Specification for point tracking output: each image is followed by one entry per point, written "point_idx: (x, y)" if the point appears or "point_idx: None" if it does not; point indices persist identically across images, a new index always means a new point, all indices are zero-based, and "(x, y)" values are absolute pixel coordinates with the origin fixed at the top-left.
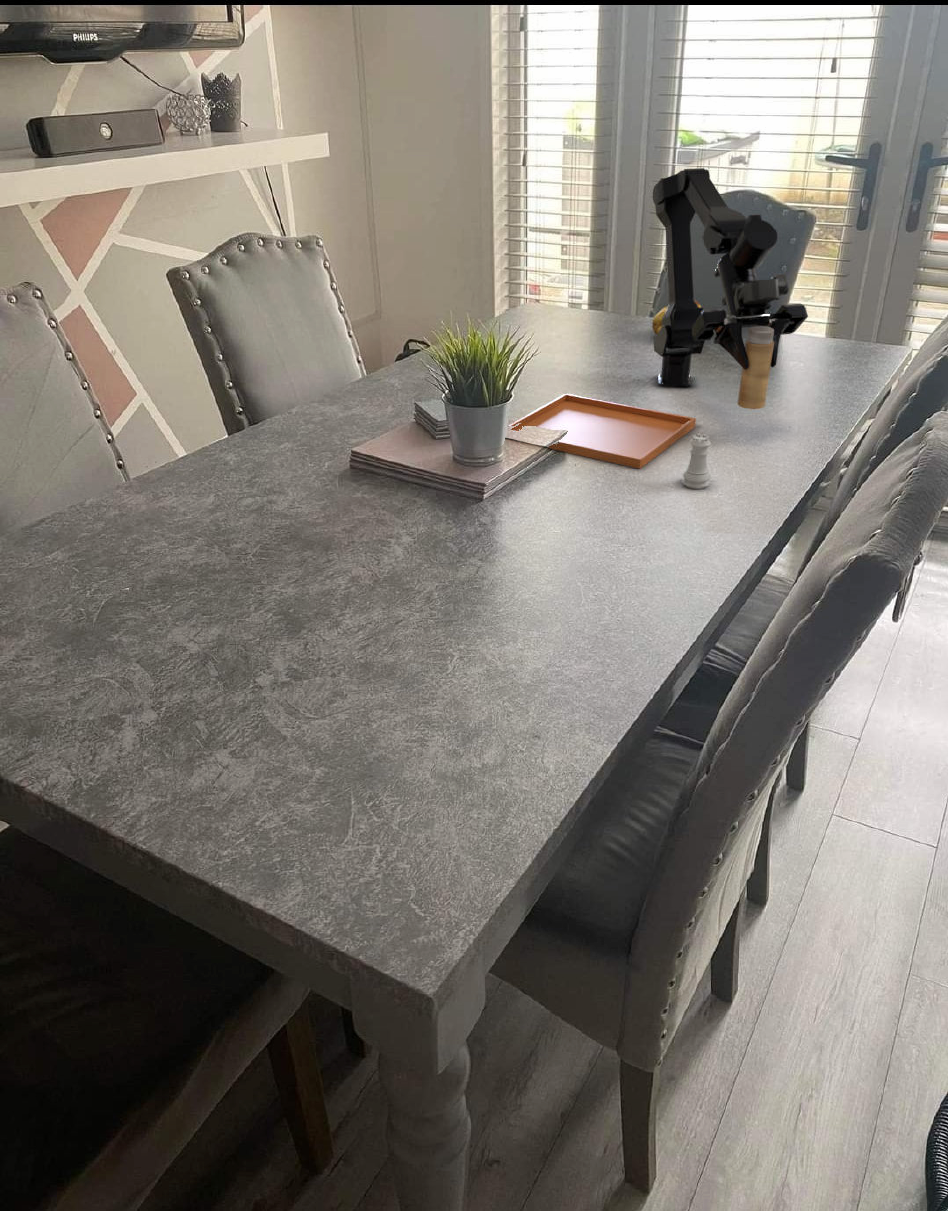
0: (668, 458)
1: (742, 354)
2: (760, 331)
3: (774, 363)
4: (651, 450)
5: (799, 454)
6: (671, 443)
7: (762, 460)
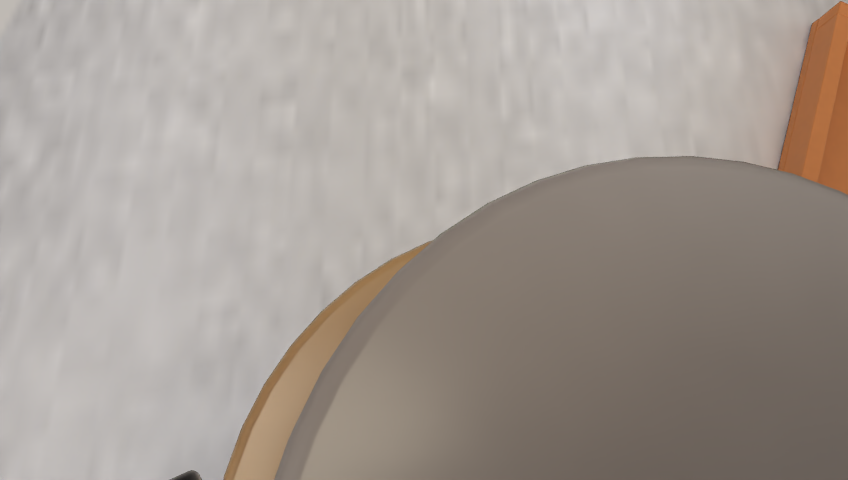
0: (722, 150)
1: None
2: (764, 261)
3: (188, 472)
4: (823, 110)
5: (36, 294)
6: None
7: (269, 177)
